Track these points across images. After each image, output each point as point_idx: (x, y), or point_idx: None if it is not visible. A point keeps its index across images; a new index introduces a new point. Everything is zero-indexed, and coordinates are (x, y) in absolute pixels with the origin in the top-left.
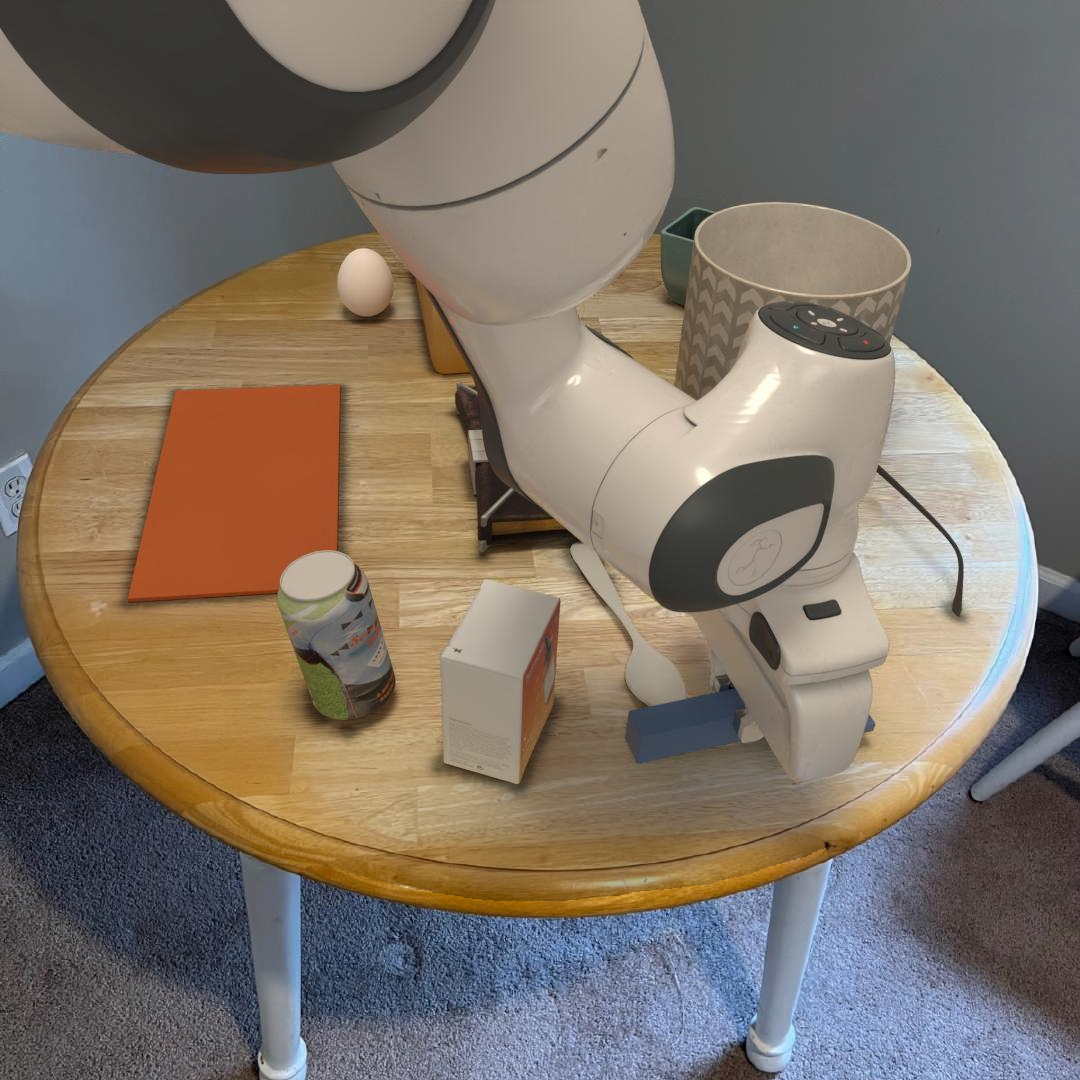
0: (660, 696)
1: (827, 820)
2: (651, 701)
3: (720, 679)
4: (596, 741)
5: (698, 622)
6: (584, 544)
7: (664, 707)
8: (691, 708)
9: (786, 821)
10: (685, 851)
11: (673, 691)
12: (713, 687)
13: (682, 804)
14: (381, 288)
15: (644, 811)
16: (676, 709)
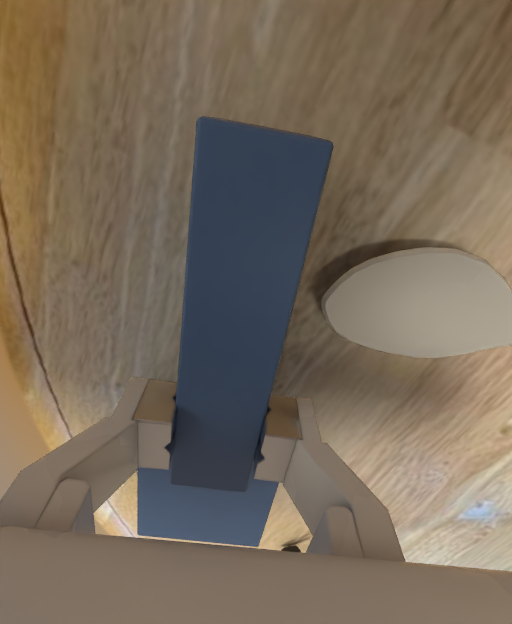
0: (383, 295)
1: (39, 388)
2: (379, 270)
3: (282, 444)
4: (370, 89)
5: (460, 603)
6: None
7: (283, 269)
8: (243, 335)
9: (47, 338)
10: (5, 123)
11: (377, 324)
12: (291, 409)
13: (127, 189)
14: None
15: (132, 90)
16: (259, 297)
